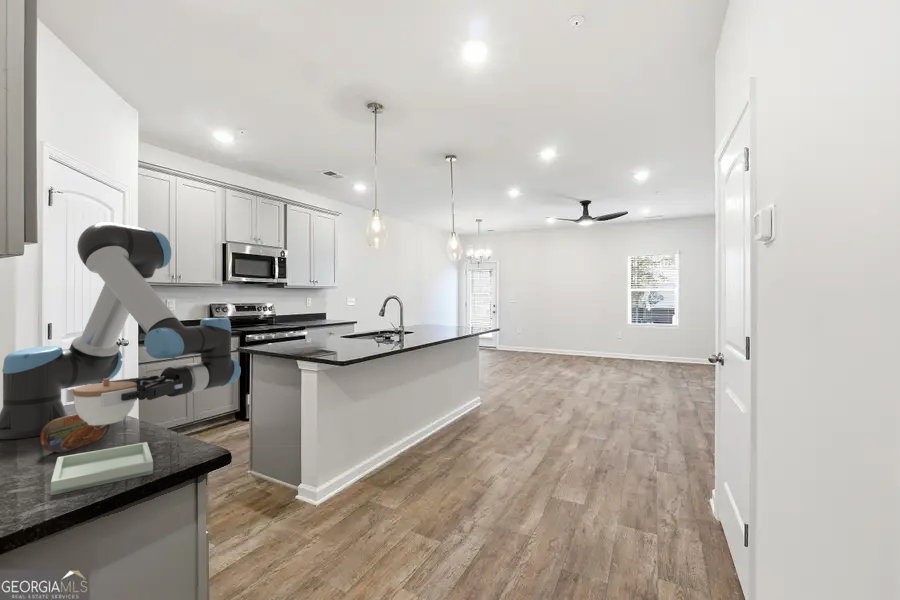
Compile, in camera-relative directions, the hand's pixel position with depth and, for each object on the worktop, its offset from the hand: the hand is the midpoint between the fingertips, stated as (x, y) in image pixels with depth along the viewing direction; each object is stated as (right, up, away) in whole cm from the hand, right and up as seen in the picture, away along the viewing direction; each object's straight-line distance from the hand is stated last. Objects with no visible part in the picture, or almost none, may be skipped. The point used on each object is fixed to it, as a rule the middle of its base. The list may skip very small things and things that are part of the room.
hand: (84, 398), depth 87 cm
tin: (-19, -17, +19) cm, 32 cm away
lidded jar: (+1, -6, +4) cm, 7 cm away
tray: (+1, -17, +4) cm, 17 cm away
